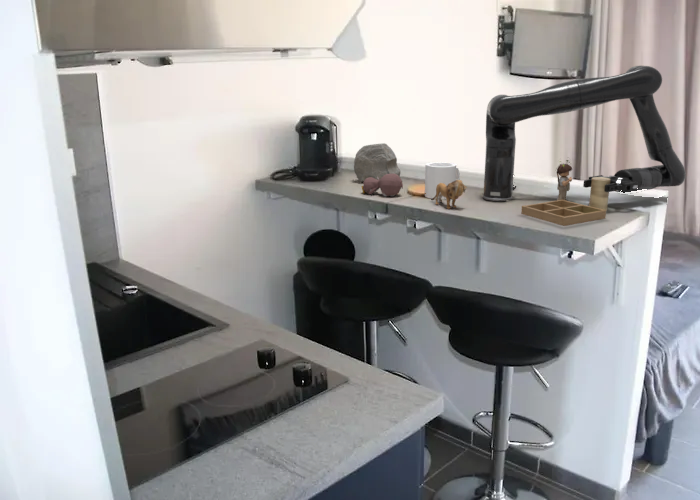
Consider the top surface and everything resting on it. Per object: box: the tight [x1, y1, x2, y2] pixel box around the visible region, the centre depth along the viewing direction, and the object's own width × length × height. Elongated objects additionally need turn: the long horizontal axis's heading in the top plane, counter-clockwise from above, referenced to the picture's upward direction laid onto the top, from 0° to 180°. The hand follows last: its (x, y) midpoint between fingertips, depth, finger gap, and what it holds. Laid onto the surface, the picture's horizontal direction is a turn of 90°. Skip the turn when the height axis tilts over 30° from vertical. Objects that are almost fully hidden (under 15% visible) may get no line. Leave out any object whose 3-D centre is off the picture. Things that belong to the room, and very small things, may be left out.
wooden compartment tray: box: [520, 199, 607, 227], centre depth 183 cm, size 16×16×3 cm
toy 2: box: [554, 157, 573, 201], centre depth 199 cm, size 6×6×15 cm
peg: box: [588, 177, 610, 212], centre depth 189 cm, size 5×5×10 cm
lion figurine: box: [430, 179, 468, 210], centre depth 199 cm, size 15×5×9 cm, turn 33°
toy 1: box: [361, 173, 404, 198], centre depth 216 cm, size 8×8×15 cm
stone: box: [353, 142, 402, 182], centre depth 234 cm, size 19×7×15 cm, turn 53°
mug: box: [424, 161, 461, 200], centre depth 213 cm, size 14×10×11 cm
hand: (594, 186), depth 187 cm, fingers open, 7 cm apart
